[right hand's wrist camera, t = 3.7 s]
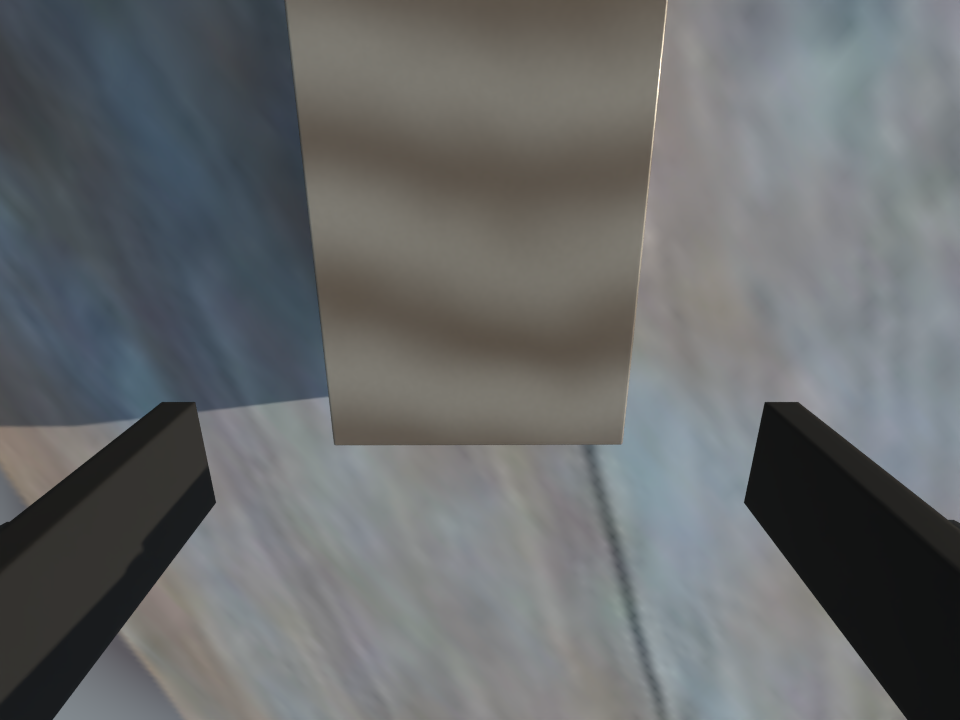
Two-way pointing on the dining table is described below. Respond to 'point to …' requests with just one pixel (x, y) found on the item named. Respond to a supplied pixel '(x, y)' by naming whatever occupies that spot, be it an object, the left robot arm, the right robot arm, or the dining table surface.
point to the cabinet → (477, 211)
